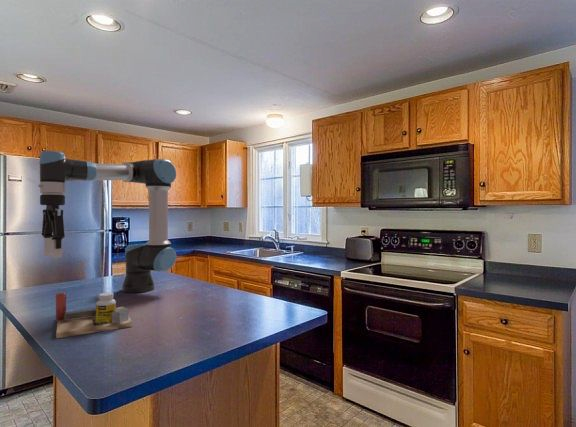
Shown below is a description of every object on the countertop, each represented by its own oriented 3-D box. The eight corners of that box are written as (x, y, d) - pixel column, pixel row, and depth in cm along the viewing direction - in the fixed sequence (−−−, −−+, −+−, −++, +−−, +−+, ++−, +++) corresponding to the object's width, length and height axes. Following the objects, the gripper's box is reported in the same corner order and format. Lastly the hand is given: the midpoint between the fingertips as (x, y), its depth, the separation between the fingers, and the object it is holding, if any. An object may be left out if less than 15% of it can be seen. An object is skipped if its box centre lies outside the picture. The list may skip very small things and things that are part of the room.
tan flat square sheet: (123, 310, 142) (123, 305, 142) (131, 326, 123) (131, 320, 123) (58, 319, 130) (58, 314, 130) (56, 338, 111) (56, 332, 111)
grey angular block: (120, 323, 126) (120, 307, 126) (128, 323, 126) (128, 308, 125) (111, 328, 121) (111, 311, 121) (119, 328, 121) (119, 312, 121)
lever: (108, 311, 132) (108, 287, 132) (109, 314, 129) (108, 289, 129) (56, 318, 124) (55, 293, 124) (55, 321, 121) (55, 295, 120)
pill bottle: (95, 329, 120) (95, 296, 120) (96, 323, 125) (96, 292, 125) (116, 326, 123) (115, 294, 123) (115, 321, 128) (115, 291, 128)
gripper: (31, 194, 132) (31, 254, 132) (50, 193, 117) (50, 260, 118) (54, 195, 137) (54, 253, 138) (75, 194, 123) (75, 258, 124)
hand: (52, 256), depth 128 cm, fingers open, 9 cm apart
